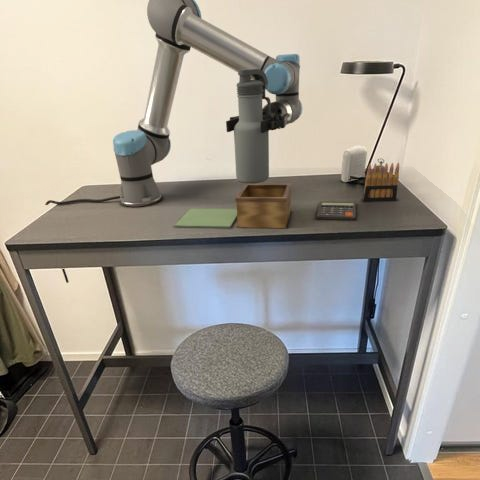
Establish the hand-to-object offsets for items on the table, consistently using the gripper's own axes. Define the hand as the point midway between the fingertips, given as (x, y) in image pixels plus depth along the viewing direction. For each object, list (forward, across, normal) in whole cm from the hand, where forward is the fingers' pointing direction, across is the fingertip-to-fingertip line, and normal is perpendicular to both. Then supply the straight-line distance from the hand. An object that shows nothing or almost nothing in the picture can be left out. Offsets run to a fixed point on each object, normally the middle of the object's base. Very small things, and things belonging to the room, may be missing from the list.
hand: (244, 127), depth 107 cm
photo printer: (-57, -18, -27) cm, 66 cm away
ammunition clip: (-34, -33, -27) cm, 55 cm away
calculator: (-19, -22, -27) cm, 40 cm away
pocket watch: (-52, -30, -27) cm, 66 cm away
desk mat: (0, +15, -27) cm, 31 cm away
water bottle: (-4, 0, -15) cm, 16 cm away
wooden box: (-5, -3, -27) cm, 28 cm away
